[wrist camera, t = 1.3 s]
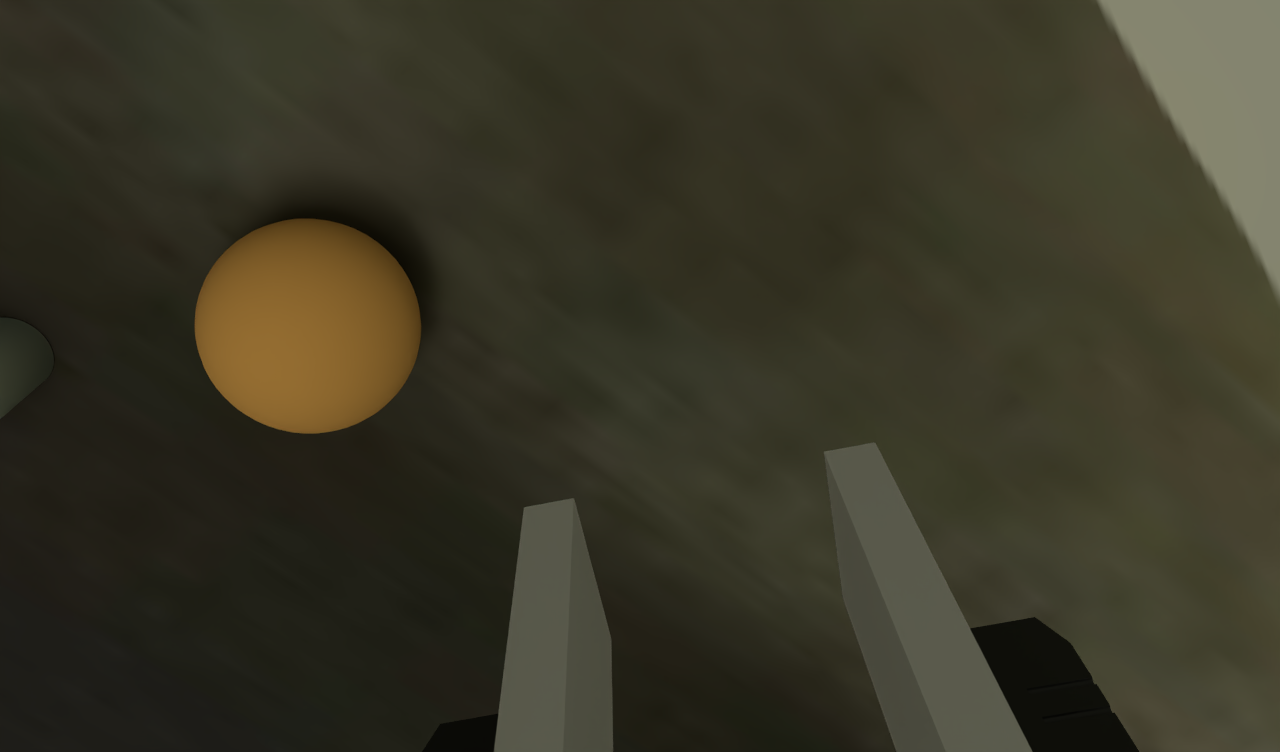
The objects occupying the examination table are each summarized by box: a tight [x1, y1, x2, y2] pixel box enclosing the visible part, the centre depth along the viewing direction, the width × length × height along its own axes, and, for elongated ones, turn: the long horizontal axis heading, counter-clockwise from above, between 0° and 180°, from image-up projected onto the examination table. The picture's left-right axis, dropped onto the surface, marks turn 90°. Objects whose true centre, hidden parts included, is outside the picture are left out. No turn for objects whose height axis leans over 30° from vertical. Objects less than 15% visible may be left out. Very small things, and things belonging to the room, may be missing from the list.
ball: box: [195, 219, 421, 433], centre depth 28 cm, size 6×6×6 cm
